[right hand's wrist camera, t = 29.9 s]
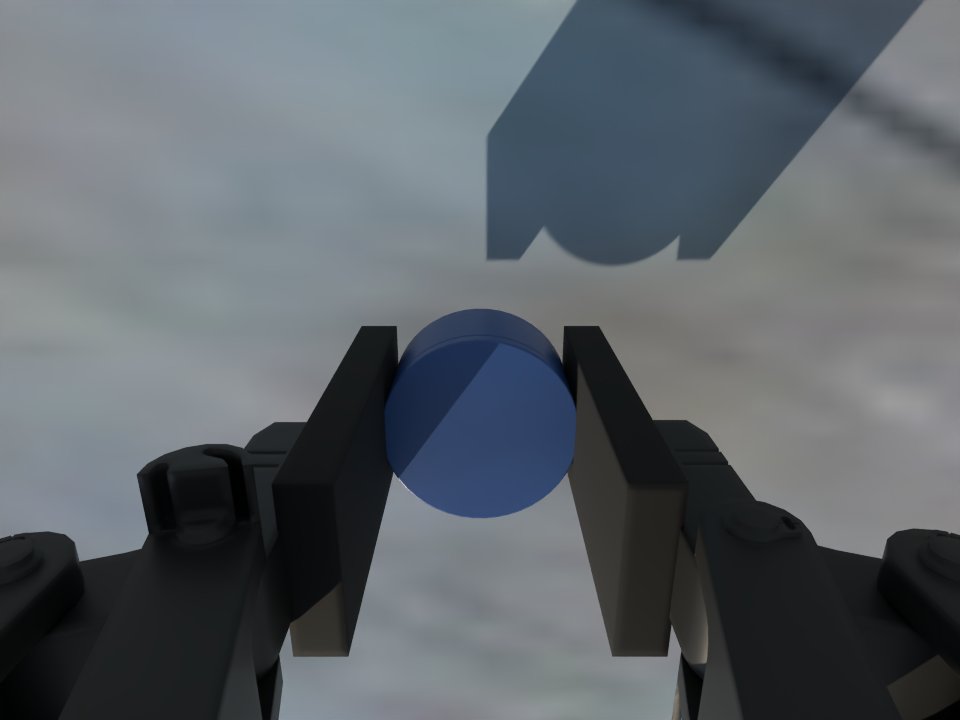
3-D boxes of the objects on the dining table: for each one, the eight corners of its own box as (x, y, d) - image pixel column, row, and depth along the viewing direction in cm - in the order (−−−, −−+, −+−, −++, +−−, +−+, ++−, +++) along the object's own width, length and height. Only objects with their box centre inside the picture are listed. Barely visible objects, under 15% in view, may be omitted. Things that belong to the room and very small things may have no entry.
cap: (597, 356, 14) (617, 395, 12) (514, 490, 15) (519, 546, 13) (441, 277, 13) (435, 304, 11) (367, 423, 15) (349, 471, 13)
